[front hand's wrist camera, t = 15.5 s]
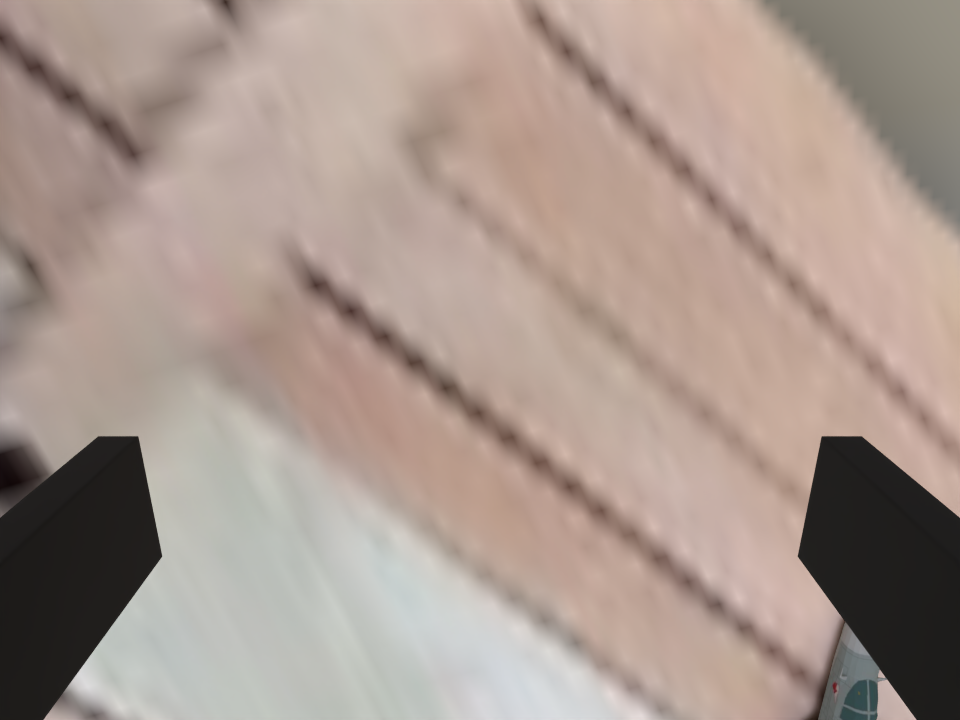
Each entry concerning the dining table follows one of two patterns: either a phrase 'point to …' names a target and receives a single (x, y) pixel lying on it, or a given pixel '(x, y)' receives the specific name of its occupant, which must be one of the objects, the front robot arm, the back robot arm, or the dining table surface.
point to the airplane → (851, 682)
